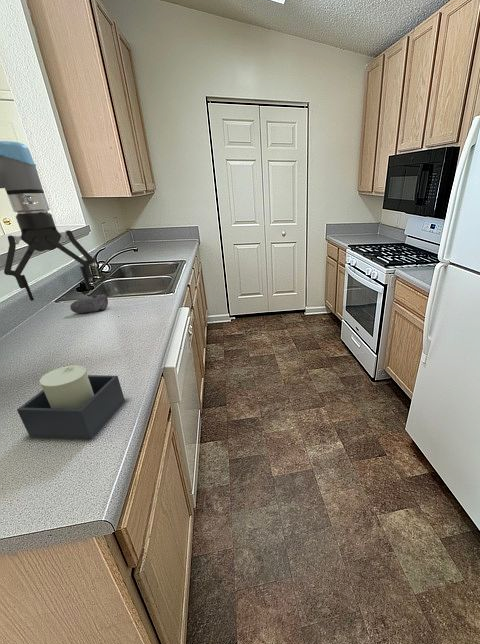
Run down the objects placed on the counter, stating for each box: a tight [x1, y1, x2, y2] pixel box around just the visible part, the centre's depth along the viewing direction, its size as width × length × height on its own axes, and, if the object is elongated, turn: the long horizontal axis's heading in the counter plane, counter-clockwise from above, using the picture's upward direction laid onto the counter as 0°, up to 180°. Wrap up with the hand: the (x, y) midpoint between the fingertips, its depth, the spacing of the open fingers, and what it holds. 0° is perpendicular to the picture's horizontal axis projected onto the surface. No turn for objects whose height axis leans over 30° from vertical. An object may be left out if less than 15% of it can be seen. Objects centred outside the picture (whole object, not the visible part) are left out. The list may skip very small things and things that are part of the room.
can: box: [39, 364, 94, 409], centre depth 79 cm, size 9×9×12 cm
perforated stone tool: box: [70, 293, 109, 314], centre depth 148 cm, size 15×5×7 cm, turn 119°
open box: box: [16, 374, 126, 440], centre depth 80 cm, size 15×15×8 cm
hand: (62, 294), depth 92 cm, fingers open, 13 cm apart
